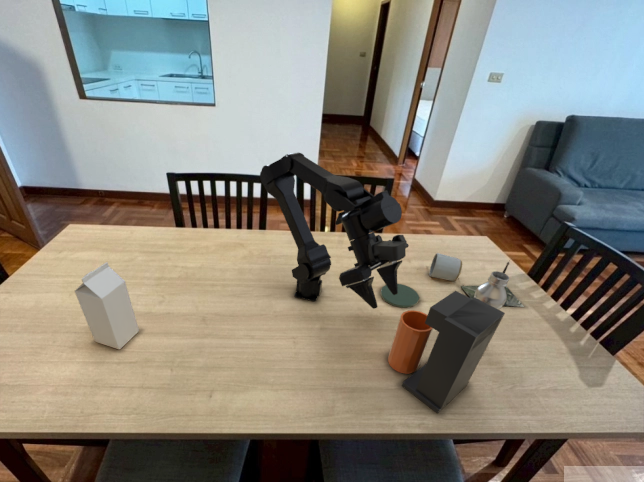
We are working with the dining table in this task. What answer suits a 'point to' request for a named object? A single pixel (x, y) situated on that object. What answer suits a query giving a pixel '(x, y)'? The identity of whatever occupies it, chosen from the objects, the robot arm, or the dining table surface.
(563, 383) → the dining table surface
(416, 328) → the orange cup
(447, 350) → the coffee maker
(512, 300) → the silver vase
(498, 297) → the silver metal bottle
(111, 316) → the milk carton
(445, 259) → the ceramic mug
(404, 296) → the saucer
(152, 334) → the dining table surface
